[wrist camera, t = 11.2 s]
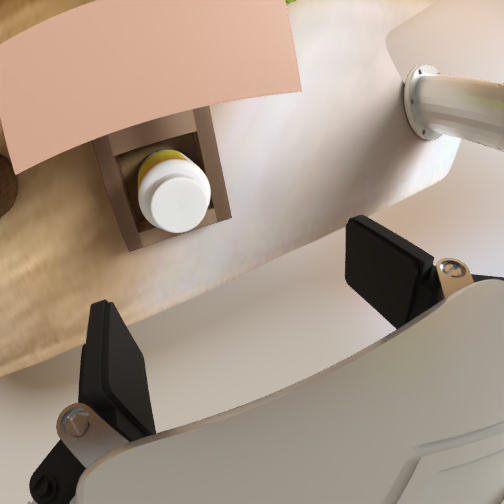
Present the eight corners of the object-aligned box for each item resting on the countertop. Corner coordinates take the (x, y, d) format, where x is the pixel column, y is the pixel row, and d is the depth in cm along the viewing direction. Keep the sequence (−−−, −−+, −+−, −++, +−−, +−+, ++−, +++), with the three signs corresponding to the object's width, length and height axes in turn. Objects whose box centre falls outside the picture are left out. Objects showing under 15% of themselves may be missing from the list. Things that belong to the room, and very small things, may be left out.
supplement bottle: (127, 184, 26) (122, 219, 18) (159, 137, 25) (170, 148, 17) (171, 212, 29) (188, 257, 21) (203, 168, 28) (235, 195, 20)
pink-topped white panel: (215, 33, 22) (280, -22, 10) (227, 100, 26) (301, 91, 14) (55, 76, 18) (-8, 49, 7) (71, 146, 22) (15, 175, 10)
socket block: (196, 79, 24) (203, 74, 21) (223, 208, 31) (231, 217, 29) (89, 109, 21) (84, 108, 19) (129, 239, 29) (129, 252, 26)
